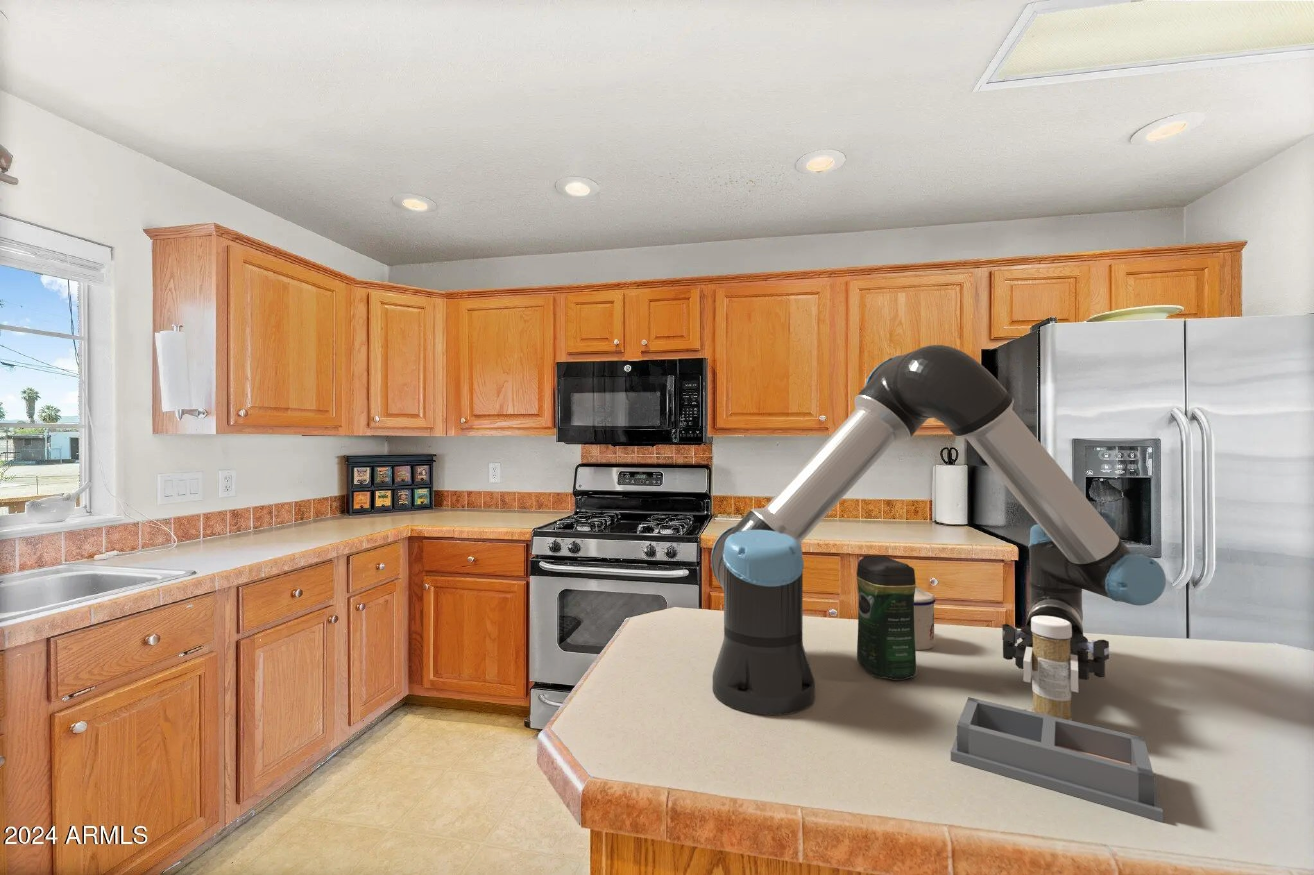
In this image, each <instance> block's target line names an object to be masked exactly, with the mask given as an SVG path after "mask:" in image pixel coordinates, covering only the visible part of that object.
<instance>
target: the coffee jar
mask: <svg viewBox="0 0 1314 875" xmlns="http://www.w3.org/2000/svg"><path fill="white" fill-rule="evenodd" d="M856 568H857V569H856V581H857V591H858V614H857V616H858V617H857V641H856V642H857V643H856V646H857V647H856V659H857V662H858V664H859V665H860V666H861V667H862V669H864V670H866V672H869V674H871V675H873V676H874V677H876V678H883V679H890V680H892V681H904V680H906V679H910V678H913V677H915V676H916V674H917V658H916V657H917V650H915V631H914V594H915V588H916V586H917V584H916V574H915V573H916V571H915V569H914V567H912V566H910V565H909V564H908V563H905V562H902V561H898V560H895V559H893V558H891V557H888V556H886V555H864V556H863V557H862V558H861V559H859V561H858V562H857V567H856Z"/></svg>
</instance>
